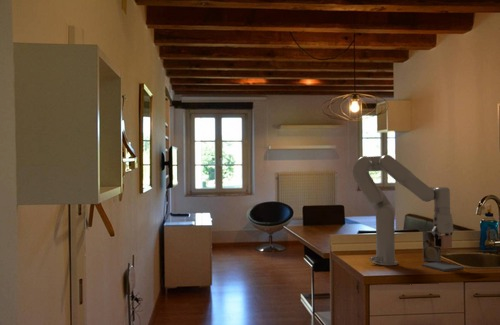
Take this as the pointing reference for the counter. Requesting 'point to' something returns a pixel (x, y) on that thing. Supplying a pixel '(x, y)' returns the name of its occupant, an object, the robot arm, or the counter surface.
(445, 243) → the terracotta cube
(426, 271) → the counter surface
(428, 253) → the coffee box
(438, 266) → the mat
